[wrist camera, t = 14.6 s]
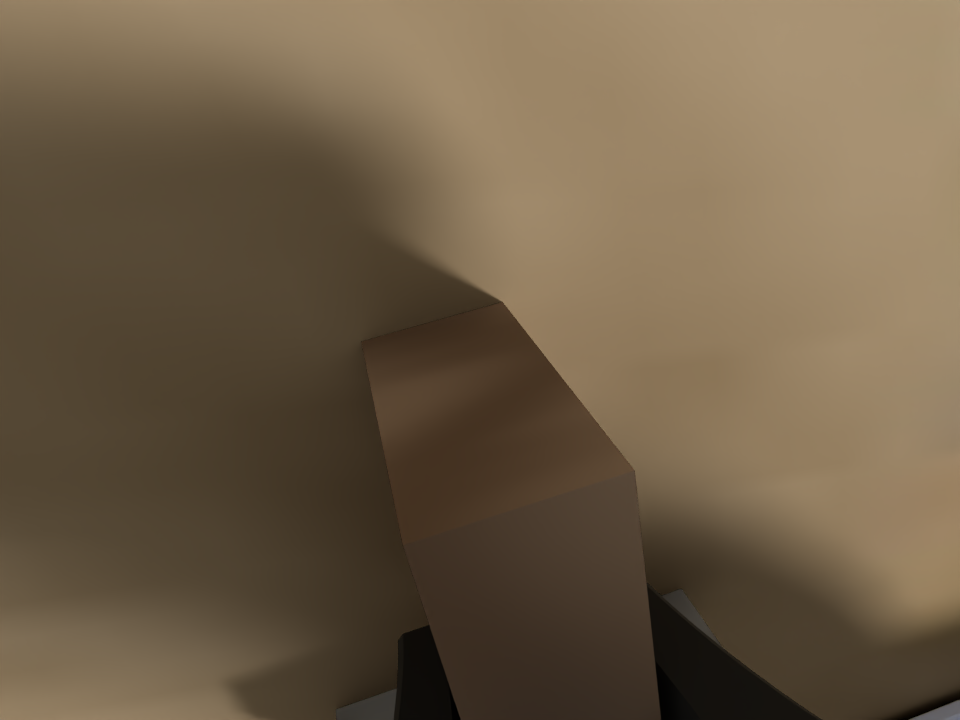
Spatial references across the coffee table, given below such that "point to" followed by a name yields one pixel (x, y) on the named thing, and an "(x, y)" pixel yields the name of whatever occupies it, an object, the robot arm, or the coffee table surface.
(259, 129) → the coffee table surface
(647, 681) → the plank on grey base
